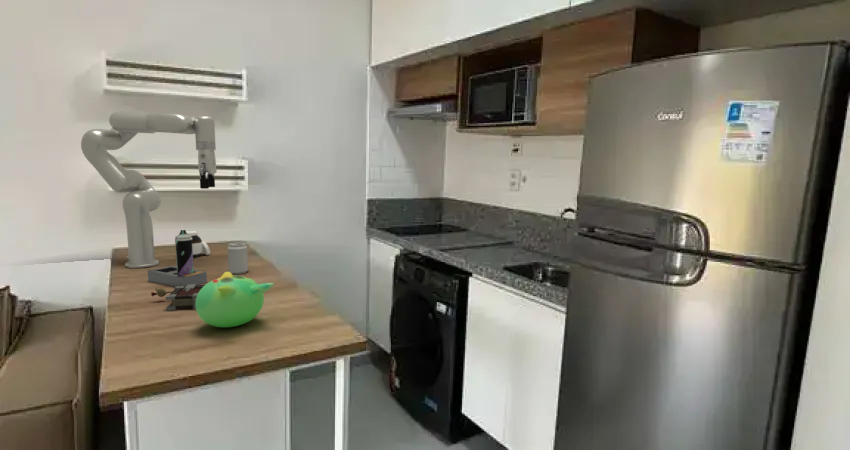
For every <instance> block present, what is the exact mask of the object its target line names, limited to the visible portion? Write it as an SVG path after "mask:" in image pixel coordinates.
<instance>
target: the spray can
mask: <svg viewBox="0 0 850 450" xmlns="http://www.w3.org/2000/svg"><path fill="white" fill-rule="evenodd" d="M186 231H187V230H186V229H183V230H181V229H180V232H179V233H178V234H177V236H176V235H175V240H174V243H175V244H174V245H175V257H176V258H175V259H176V266H177V275H181V276H183V275H187V274H191V273H194V270H195V269H194V258H193V250H192V238H191V236H190V235H188V233H187V232H186Z"/></svg>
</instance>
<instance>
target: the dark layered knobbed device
mask: <svg viewBox="0 0 850 450" xmlns="http://www.w3.org/2000/svg"><path fill="white" fill-rule="evenodd" d="M205 285H206V284H199V285H197V284H189V285H186V286H176V287H174V289H173V290H172V291H166V289H164V288H163V287H159V288H157V287H156V288H155V292H154V291H153V292H151V293H150V295H151V297H154V296H158V297H160V298H163V297H165V301H171V303H170V304H169V305H167V306H166V311H167V312H168V311H169V312H170V311H176V310H188V309H189V310H191V309H193V310H196V306H195V302H196V297H197V295H198V293H199V291H200V290H201V289H202V288H203V287H204V286H205ZM167 294H168V295H167Z"/></svg>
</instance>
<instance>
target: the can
mask: <svg viewBox="0 0 850 450" xmlns="http://www.w3.org/2000/svg"><path fill="white" fill-rule="evenodd" d="M226 250H227V266H228V267H227V268H228V271H227V272H230V273H231V274H232V275H241V274H246V273H247V272H248V271H249V263H248V262H249V261H248V258H249V257H248V246H247V245H246V243H245V242H231V243H229V244H228V247H227V249H226Z"/></svg>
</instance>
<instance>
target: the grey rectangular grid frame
mask: <svg viewBox="0 0 850 450" xmlns="http://www.w3.org/2000/svg"><path fill="white" fill-rule="evenodd" d="M147 280H148V282H149V283H150V282H151V283H155V284H160V285H164V286H170V287H174V288H175V287H176V286H186V285H189V284H197V285H204V284H207V283H208V276H207V271H203V270H198V269H197V270H196V269H194V273H191V274H187V275H183V276H181V275H177V265H169V266H166V267H159V268H154V269H149V270H147Z"/></svg>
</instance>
